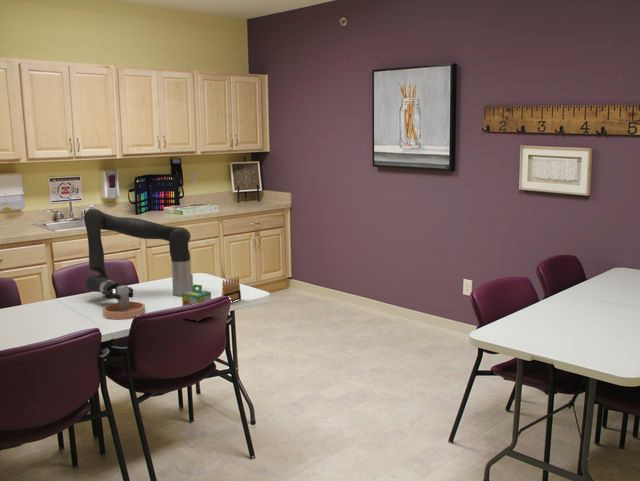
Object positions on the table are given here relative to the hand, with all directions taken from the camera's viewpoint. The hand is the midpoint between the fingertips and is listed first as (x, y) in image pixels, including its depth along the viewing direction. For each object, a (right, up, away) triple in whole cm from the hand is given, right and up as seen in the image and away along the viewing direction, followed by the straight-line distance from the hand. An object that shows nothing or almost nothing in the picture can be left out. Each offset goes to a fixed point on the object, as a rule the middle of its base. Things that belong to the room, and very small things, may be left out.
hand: (125, 296), depth 277 cm
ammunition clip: (+44, -5, +20) cm, 49 cm away
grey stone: (-2, -6, +3) cm, 7 cm away
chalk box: (+33, -9, -5) cm, 34 cm away
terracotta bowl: (-2, -8, +3) cm, 9 cm away
